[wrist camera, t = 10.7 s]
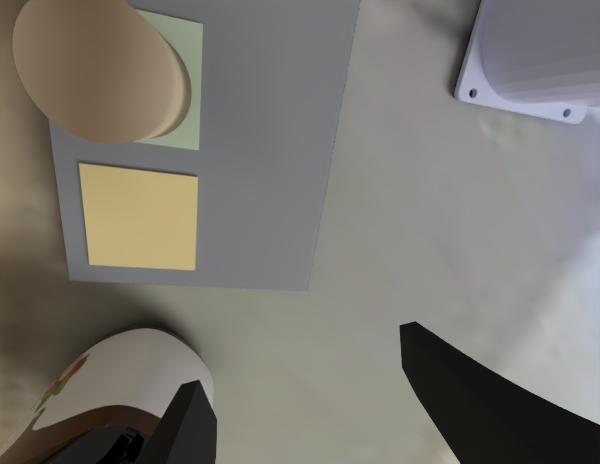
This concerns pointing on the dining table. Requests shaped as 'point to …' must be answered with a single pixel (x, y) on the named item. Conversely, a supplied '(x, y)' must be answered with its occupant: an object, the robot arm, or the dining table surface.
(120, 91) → the disc
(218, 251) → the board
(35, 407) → the spread jar
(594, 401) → the dining table surface
